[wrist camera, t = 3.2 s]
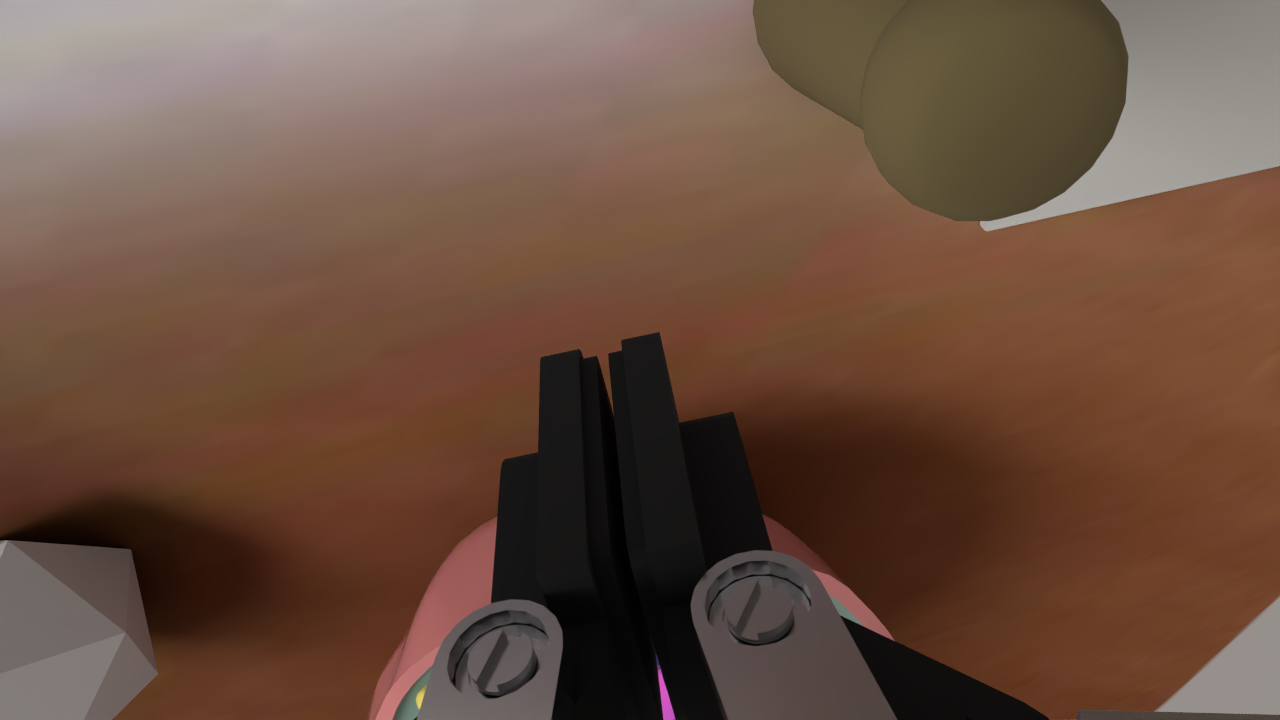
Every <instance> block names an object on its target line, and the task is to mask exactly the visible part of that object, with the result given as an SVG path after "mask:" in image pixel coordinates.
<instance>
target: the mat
mask: <svg viewBox="0 0 1280 720" xmlns="http://www.w3.org/2000/svg"><path fill="white" fill-rule="evenodd" d="M1101 1H1102V2H1103V3H1104V4H1105V6H1106V7H1107V8H1108V9H1109V10H1110V12H1111V13H1112V14H1113V15H1114V17H1115V18H1116V19H1117V20H1118V22H1119V24H1120V28H1121V31H1122V35H1123V38H1124V42H1125V45H1126V49H1127V52H1128V56H1129V59H1128V75H1127V89H1126V103H1125V106H1124V109H1123V111H1122V114H1121V117H1120V119H1119V122H1118V125H1117V127H1116V130H1115V133H1114V135H1113V138H1112V139H1111V140H1110V142H1109V143H1108V145H1107V146H1106V148H1105V149H1104V151H1103V152H1102V153H1101V155H1100V156H1099V158H1098V159H1097V161H1096V162H1095V164H1094V165H1093V166H1092V168H1091V169H1090V170H1089V171H1087V172H1086V173H1085V174H1084V175H1083V176H1082V177H1081V178H1080V179H1079V180H1078V181H1076V182H1075V183H1074V184H1073V185H1072V186H1071V187H1070V188H1069V189H1068V190H1067V191H1065V192H1064V193H1063V194H1061V195H1059V196H1057V197H1055V198H1054V199H1052V200H1050V201H1048V202H1047V203H1045V204H1043V205H1041V206H1039V207H1038V208H1036V209H1034V210H1031V211H1028V212H1024V213H1020V214H1017V215H1013V216H1009V217H1006V218H1002V219H997V220H993V221H980V226H981V227H982V228H983V229H984V230H985V231H991V230H995V229H1000V228H1004V227H1009V226H1013V225H1018V224H1022V223H1027V222H1031V221H1036V220H1040V219H1045V218H1049V217H1054V216H1058V215H1063V214H1067V213H1072V212H1076V211H1081V210H1085V209H1090V208H1094V207H1099V206H1103V205H1107V204H1112V203H1116V202H1121V201H1125V200H1130V199H1134V198H1139V197H1143V196H1148V195H1152V194H1157V193H1161V192H1166V191H1170V190H1175V189H1179V188H1184V187H1188V186H1193V185H1197V184H1202V183H1206V182H1211V181H1215V180H1220V179H1224V178H1228V177H1233V176H1237V175H1242V174H1246V173H1251V172H1255V171H1260V170H1264V169H1269V168H1273V167H1278V166H1280V0H1101Z"/></svg>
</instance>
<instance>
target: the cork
mask: <svg viewBox="0 0 1280 720" xmlns="http://www.w3.org/2000/svg"><path fill="white" fill-rule="evenodd" d="M753 15H754V21H755V27H756V33H757V39H758V44H759V45H760V47H761V49H762V51H763V53H764V55H765V57H766V58H767V60H768V62H769V64H770V66H771V68H772V70H773V71H775V72H776V73H777V74H778V75H779V76H780V77H781V78H782V79H784V80H785V81H786V82H787V83H788V84H789V85H790V86H791V87H793V88H794V89H795V90H797V91H799V92H800V93H802V94H804V95H805V96H807V97H809V98H810V99H812V100H814V101H815V102H817V103H819V104H820V105H822V106H824V107H826V108H827V109H829V110H831V111H832V112H834V113H836V114H837V115H839V116H841V117H842V118H844V119H846V120H847V121H849V122H851V123H853V124H854V125H856V126H858V127H859V128H861V129H863V132H864V138H865V143H866V145H867V147H868V149H869V151H870V153H871V155H872V157H873V159H874V161H875V163H876V165H877V167H878V169H879V171H880V173H881V174H882V175H883V177H884V178H885V179H886V180H887V182H888V183H889V184H890V185H891V186H893V187H894V188H895V189H896V190H897V191H898V192H899V193H900V194H902V195H903V196H904V197H905V198H906V199H907V200H908V201H909V202H911V203H912V204H913V205H916V206H918V207H920V208H923V209H925V210H928V211H930V212H933V213H936V214H939V215H941V216H944V217H947V218H950V219H952V220H955V221H993V220H997V219H1002V218H1006V217H1009V216H1013V215H1017V214H1020V213H1024V212H1028V211H1031V210H1034V209H1036V208H1038V207H1039V206H1041V205H1043V204H1045V203H1047V202H1048V201H1050V200H1052V199H1054V198H1055V197H1057V196H1059V195H1061V194H1063V193H1064V192H1065V191H1067V190H1068V189H1069V188H1070V187H1071V186H1072V185H1073V184H1074V183H1075V182H1076V181H1078V180H1079V179H1080V178H1081V177H1082V176H1083V175H1084V174H1085V173H1086V172H1087V171H1089V170H1090V169H1091V168H1092V166H1093V165H1094V164H1095V162H1096V161H1097V159H1098V158H1099V156H1100V155H1101V153H1102V152H1103V151H1104V149H1105V148H1106V146H1107V145H1108V143H1109V142H1110V140H1111V139H1112V138H1113V135H1114V133H1115V130H1116V127H1117V125H1118V122H1119V119H1120V117H1121V114H1122V111H1123V109H1124V106H1125V103H1126V89H1127V75H1128V59H1129V56H1128V52H1127V49H1126V45H1125V42H1124V38H1123V35H1122V31H1121V28H1120V24H1119V22H1118V20H1117V19H1116V18H1115V17H1114V15H1113V14H1112V13H1111V12H1110V10H1109V9H1108V8H1107V7H1106V6H1105V4H1104V3H1103V2H1102V1H1101V0H754V6H753Z"/></svg>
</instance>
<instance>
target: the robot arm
mask: <svg viewBox="0 0 1280 720" xmlns="http://www.w3.org/2000/svg"><path fill="white" fill-rule="evenodd" d="M621 343H622V351H618V352H613V353H609V354H608V357H609V368H610V378H611V389H612V399H613V410H614V415H613V412H612V408H611V404H610V400H609V397H608V393H607V389H606V386H605V382H604V378H603V375H602V371H601V367H600V364H599V361H598V358H597V356H594V357H590V358H585V359H584V358H583V355H582V353H581V351H580V349H577V350H573V351H568V352H563V353H559V354H554V355H549V356H545V357H542V358H541V360H540V397H539V442H538V453H533V454H528V455H523V456H519V457H514V458H509V459H505V460H504V461H503V462H502V467H501V475H500V488H499V501H498V515H497V528H496V541H495V554H494V567H493V581H492V594H491V604H489V605H487V606H484V607H482V608H480V609H478V610H476V611H474V612H472V613H471V614H469V615H468V616H467V617H465V618H464V619H463V620H461V621H460V622H459V623H457V624H456V625H455V627H454V628H453V629H452V630H451V631H450V633H449V634H448V635H447V636H446V637H445V639H444V640H443V642H442V644H441V646H440V648H439V650H438V653H437V655H436V657H435V660H434V663H433V667H432V670H431V673H430V677H429V680H428V683H427V687H426V690H425V693H424V697H423V700H422V703H421V707H420V710H419V714H418V716H417V717H416V718H415V719H414V720H663V710H662V702H661V693H660V685H659V676H658V668H657V659H656V655H657V658H658V661H659V665H660V668H661V672H662V675H663V678H664V682H665V685H666V689H667V692H668V695H669V699H670V702H671V706H672V709H673V712H674V716H675V719H676V720H1069V719H1048V718H1047V717H1046V716H1045V715H1043V714H1041V713H1040V712H1038V711H1037V710H1035V709H1034V708H1032V707H1030V706H1029V705H1027V704H1026V703H1024V702H1022V701H1020V700H1018V699H1015V698H1013V697H1011V696H1009V695H1007V694H1005V693H1003V692H1001V691H999V690H997V689H994V688H992V687H990V686H988V685H986V684H984V683H982V682H980V681H978V680H975V679H973V678H971V677H969V676H967V675H965V674H963V673H961V672H959V671H957V670H954V669H952V668H950V667H948V666H946V665H944V664H942V663H940V662H938V661H935V660H933V659H931V658H929V657H927V656H925V655H923V654H921V653H919V652H917V651H914V650H912V649H910V648H908V647H906V646H904V645H902V644H900V643H898V642H895V641H893V640H891V639H889V638H887V637H885V636H883V635H881V634H879V633H876V632H874V631H872V630H870V629H868V628H866V627H864V626H862V625H860V624H858V623H855V622H853V621H851V620H849V619H847V618H845V617H843V616H841V615H839V613H838V611H837V609H836V607H835V606H834V604H833V602H832V600H831V598H830V596H829V595H828V593H827V591H826V589H825V587H824V586H823V584H822V582H821V580H820V579H819V578H818V577H817V575H816V574H815V573H814V572H813V570H812V569H811V568H810V567H809V566H808V565H806V564H805V563H803V562H801V561H800V560H798V559H797V558H795V557H793V556H790V555H787V554H783V553H780V552H777V551H773V550H772V546H771V543H770V539H769V536H768V532H767V529H766V525H765V522H764V518H763V515H762V511H761V508H760V504H759V501H758V497H757V494H756V490H755V487H754V483H753V480H752V476H751V473H750V469H749V466H748V462H747V458H746V455H745V451H744V448H743V444H742V441H741V437H740V434H739V430H738V427H737V423H736V420H735V417H734V414H733V412H730V413H726V414H721V415H716V416H711V417H706V418H701V419H697V420H692V421H687V422H682V423H679V419H678V414H677V410H676V405H675V401H674V396H673V392H672V387H671V382H670V378H669V373H668V369H667V364H666V360H665V355H664V350H663V346H662V341H661V337H660V333H659V332H658V333H653V334H648V335H643V336H639V337H634V338H629V339H625V340H622V341H621ZM1077 720H1280V715H1260V714H1221V713H1183V712H1144V711H1105V710H1078V717H1077Z"/></svg>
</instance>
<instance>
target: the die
mask: <svg viewBox="0 0 1280 720" xmlns="http://www.w3.org/2000/svg"><path fill="white" fill-rule="evenodd" d="M157 674H158V671H157V667H156V662H155V657H154V653H153V648H152V644H151V639H150V635H149V630H148V625H147V621H146V616H145V612H144V607H143V603H142V598H141V593H140V589H139V584H138V580H137V575H136V570H135V566H134V561H133V557H132V552H131V549H122V548H108V547H94V546H80V545H67V544H53V543H39V542H26V541H12V540H4V541H0V720H112V719H113V718H114V717H115V716H116V715H117V714H118V713H119V712H120V711H121V710H122V709H123V708H124V707H125V706H126V705H127V704H128V703H129V702H130V701H131V700H132V699H133V698H134V697H135V696H136V695H137V694H138V693H139V692H140V691H141V690H142V689H143V688H144V687H145V686H146V685H147V684H148V683H149V682H150V681H151V680H152V679H153V678H154V677H155V676H156V675H157Z"/></svg>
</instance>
